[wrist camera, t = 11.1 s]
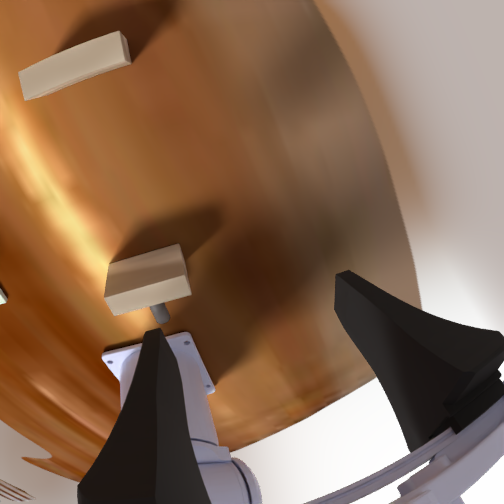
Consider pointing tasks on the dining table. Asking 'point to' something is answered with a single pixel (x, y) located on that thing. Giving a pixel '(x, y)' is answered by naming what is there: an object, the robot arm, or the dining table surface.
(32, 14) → the dining table surface
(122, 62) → the blocks
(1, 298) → the mat
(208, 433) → the robot arm
